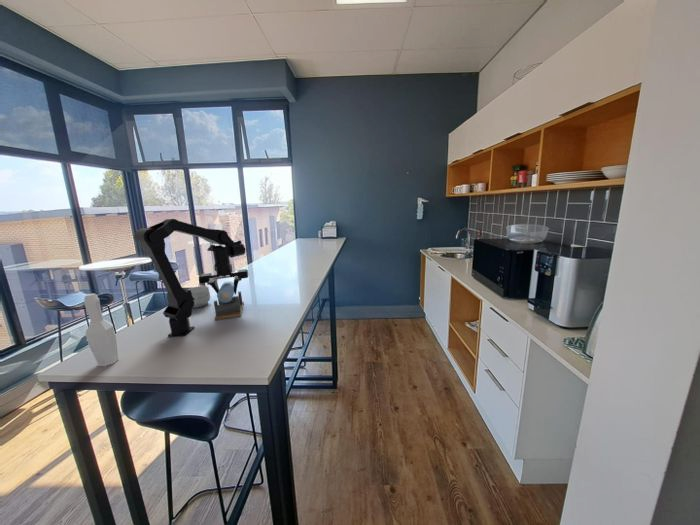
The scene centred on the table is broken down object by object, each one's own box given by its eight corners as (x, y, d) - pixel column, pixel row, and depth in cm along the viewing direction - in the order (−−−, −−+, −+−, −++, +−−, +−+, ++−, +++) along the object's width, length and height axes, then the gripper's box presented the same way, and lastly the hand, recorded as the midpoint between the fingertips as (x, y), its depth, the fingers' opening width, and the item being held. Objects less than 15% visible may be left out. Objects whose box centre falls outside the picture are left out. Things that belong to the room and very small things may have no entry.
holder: (240, 316, 114) (238, 300, 112) (214, 320, 111) (211, 304, 109) (243, 303, 129) (241, 289, 127) (220, 306, 126) (218, 292, 124)
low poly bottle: (125, 354, 88) (108, 289, 83) (117, 364, 83) (98, 295, 78) (100, 359, 86) (81, 293, 81) (91, 370, 80) (69, 300, 75)
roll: (233, 301, 113) (231, 287, 112) (218, 303, 112) (215, 289, 110) (236, 292, 125) (235, 280, 124) (222, 294, 123) (220, 281, 122)
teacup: (203, 309, 124) (200, 292, 122) (180, 310, 125) (177, 293, 123) (218, 298, 138) (216, 283, 136) (197, 299, 138) (194, 284, 136)
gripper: (246, 254, 125) (251, 286, 128) (201, 258, 120) (207, 292, 123) (245, 258, 114) (250, 294, 118) (195, 263, 109) (202, 300, 113)
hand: (227, 295), depth 118 cm, fingers closed on roll, 6 cm apart
